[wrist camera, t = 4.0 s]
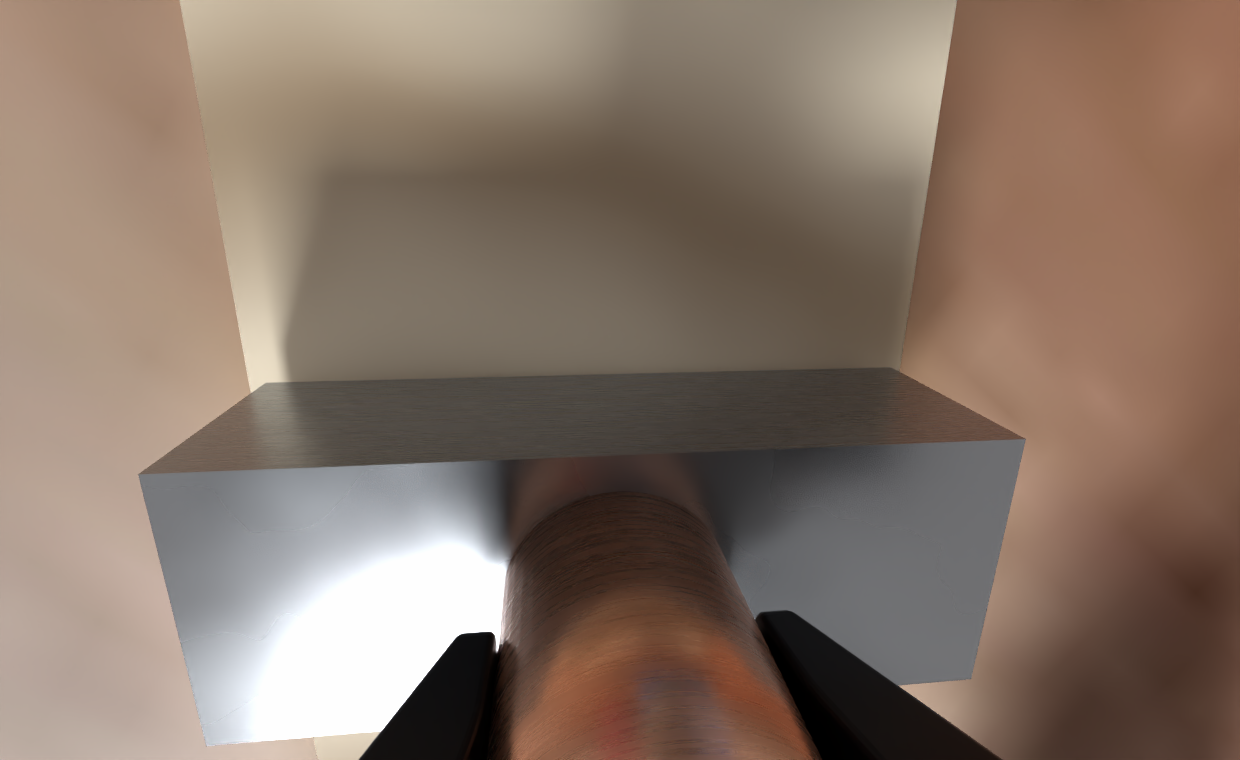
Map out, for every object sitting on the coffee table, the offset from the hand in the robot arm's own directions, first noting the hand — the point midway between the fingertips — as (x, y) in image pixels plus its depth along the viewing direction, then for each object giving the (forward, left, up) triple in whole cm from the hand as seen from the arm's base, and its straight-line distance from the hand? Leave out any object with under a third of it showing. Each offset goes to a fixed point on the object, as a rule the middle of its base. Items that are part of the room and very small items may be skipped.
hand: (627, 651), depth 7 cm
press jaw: (0, 0, -5) cm, 5 cm away
